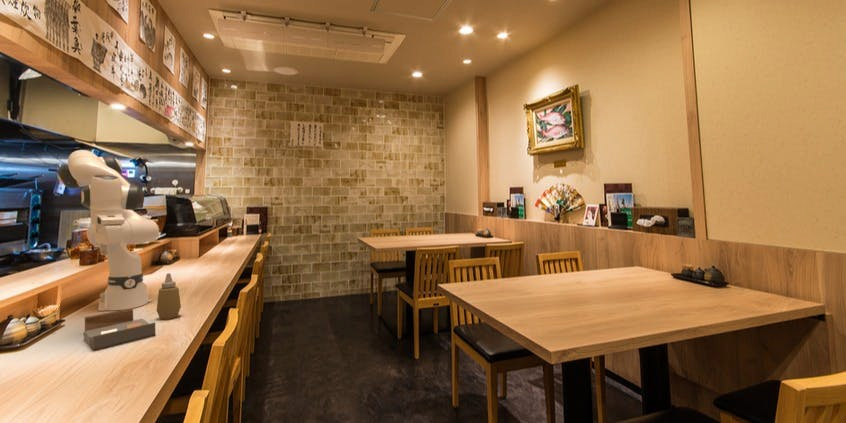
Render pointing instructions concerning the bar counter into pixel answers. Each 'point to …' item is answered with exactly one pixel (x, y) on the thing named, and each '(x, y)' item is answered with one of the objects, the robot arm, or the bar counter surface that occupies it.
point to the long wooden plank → (108, 319)
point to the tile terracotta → (133, 325)
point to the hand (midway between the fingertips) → (107, 256)
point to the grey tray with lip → (118, 334)
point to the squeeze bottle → (168, 299)
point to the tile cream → (108, 331)
